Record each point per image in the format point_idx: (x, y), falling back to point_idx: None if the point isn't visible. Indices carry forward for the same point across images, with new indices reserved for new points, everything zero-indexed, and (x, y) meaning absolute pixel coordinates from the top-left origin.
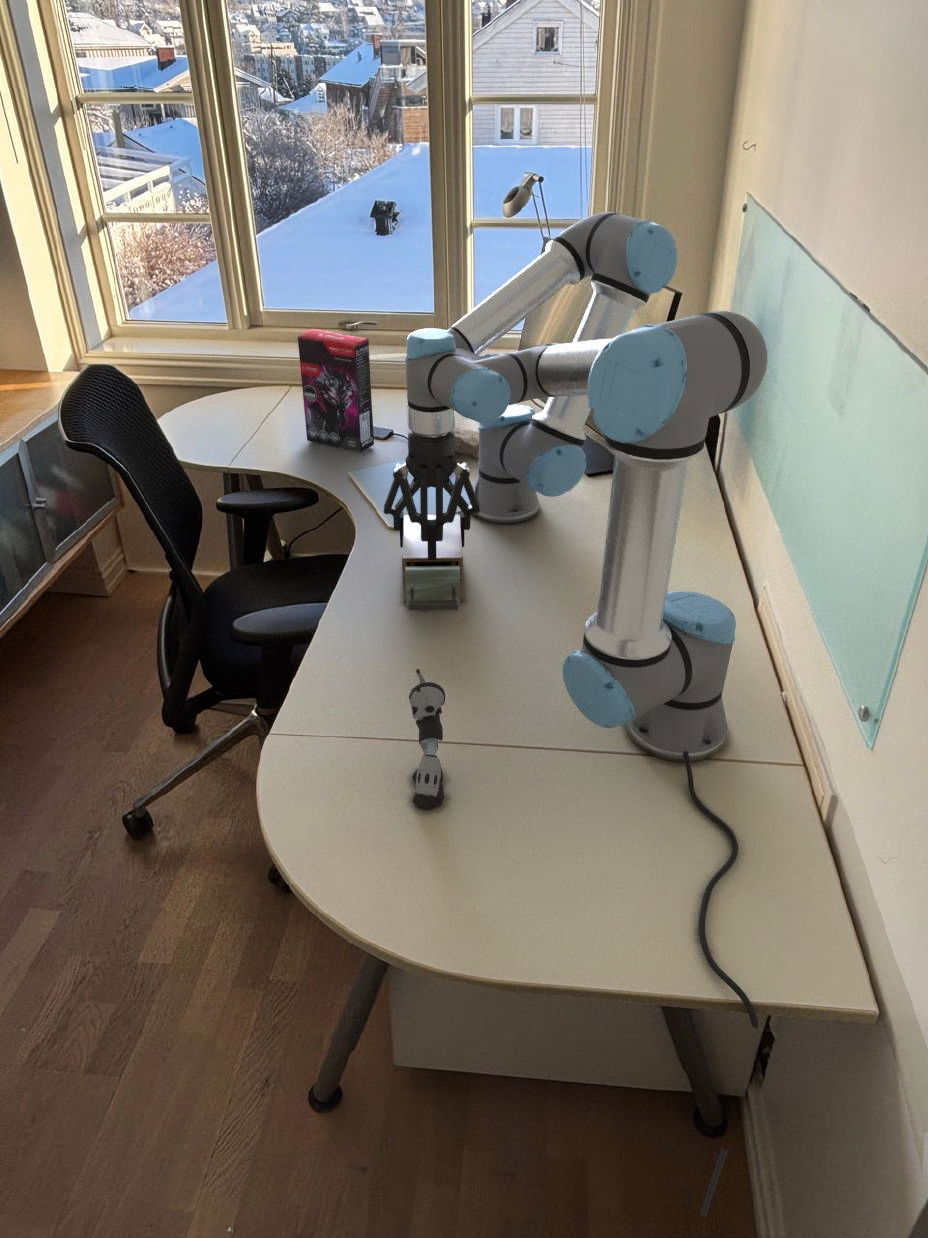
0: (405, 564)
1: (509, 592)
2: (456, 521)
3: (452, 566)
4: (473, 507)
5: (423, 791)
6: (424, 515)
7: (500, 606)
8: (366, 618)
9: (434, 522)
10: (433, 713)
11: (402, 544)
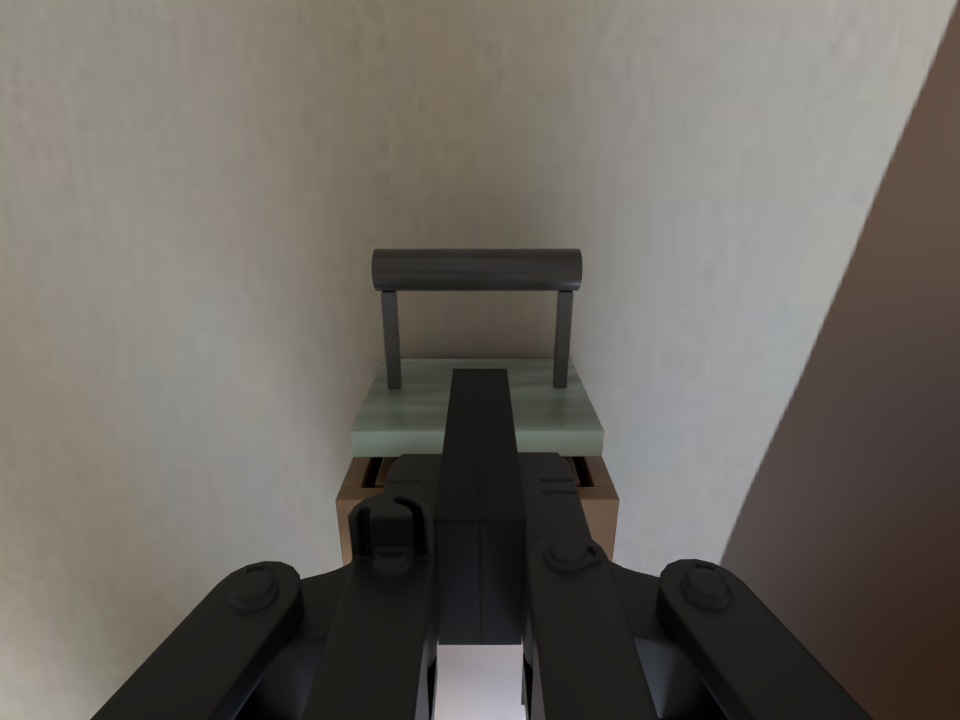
0: (597, 479)
1: (225, 445)
2: None
3: (385, 452)
4: None
5: None
6: (580, 642)
7: (247, 367)
8: (709, 306)
9: (453, 599)
10: None
11: None
